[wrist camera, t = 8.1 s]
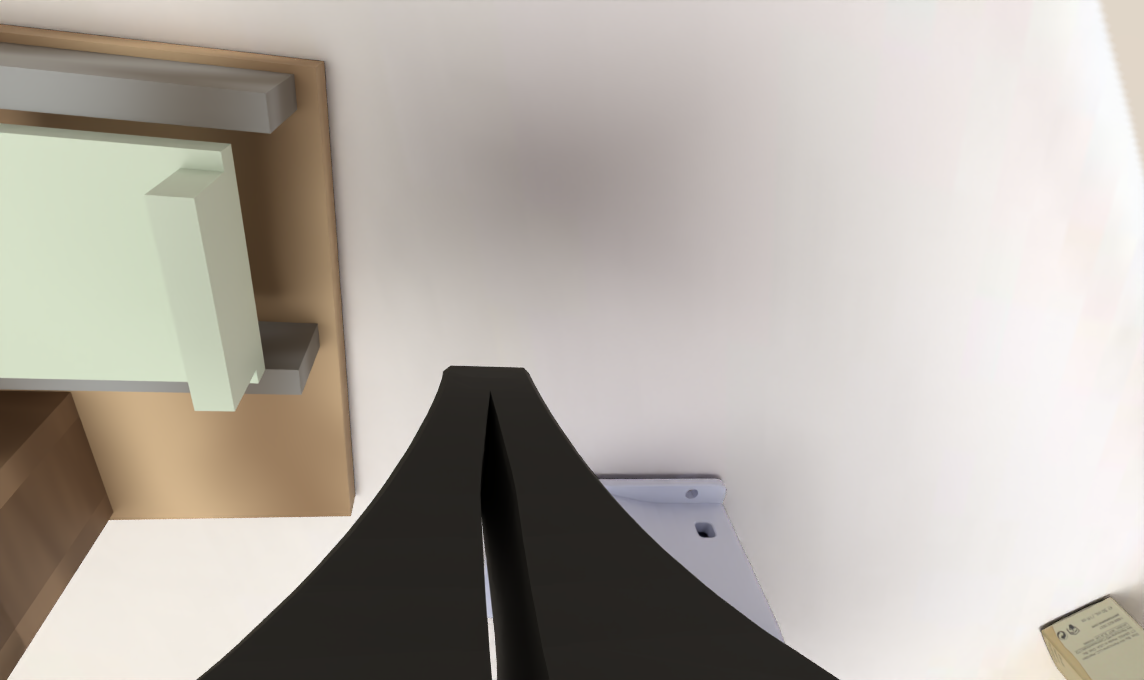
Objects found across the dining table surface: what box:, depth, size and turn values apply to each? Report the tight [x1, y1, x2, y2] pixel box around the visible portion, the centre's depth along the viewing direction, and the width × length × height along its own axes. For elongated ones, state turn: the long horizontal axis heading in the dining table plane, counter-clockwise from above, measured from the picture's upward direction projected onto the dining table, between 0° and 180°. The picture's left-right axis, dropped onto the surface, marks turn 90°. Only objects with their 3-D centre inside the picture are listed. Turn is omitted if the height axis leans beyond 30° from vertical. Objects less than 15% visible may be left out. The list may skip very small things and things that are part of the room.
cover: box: [0, 123, 265, 411], centre depth 13 cm, size 6×6×2 cm
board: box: [0, 24, 355, 520], centre depth 16 cm, size 16×15×3 cm
